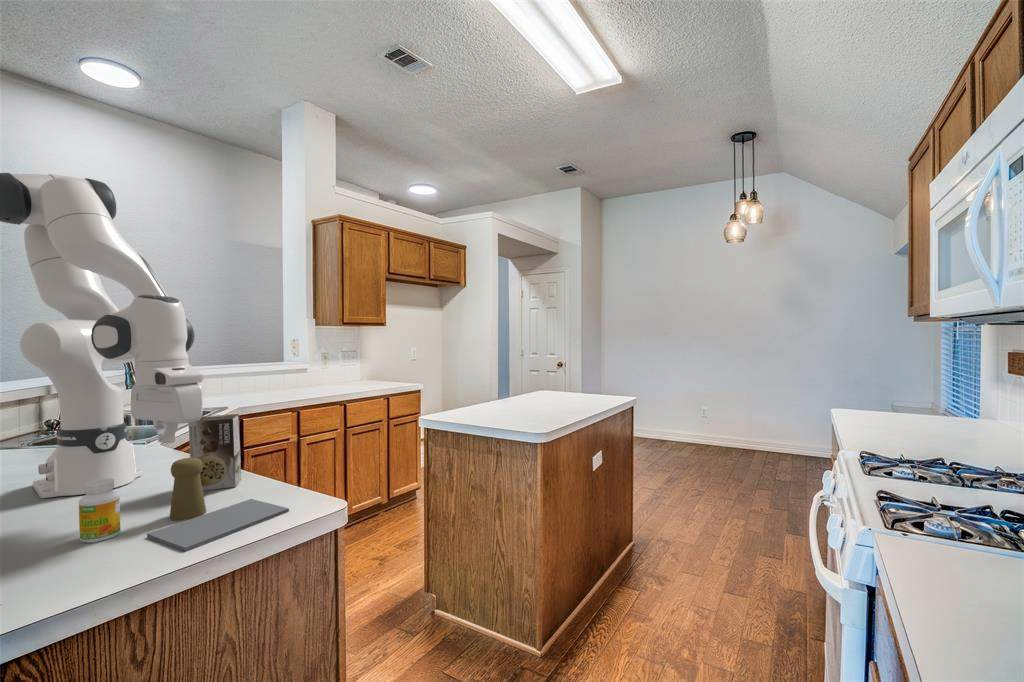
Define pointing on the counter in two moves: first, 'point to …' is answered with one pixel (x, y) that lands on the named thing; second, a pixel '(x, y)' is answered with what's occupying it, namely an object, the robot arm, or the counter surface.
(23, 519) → the counter surface
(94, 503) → the supplement bottle
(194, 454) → the coffee box
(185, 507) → the cork
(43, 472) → the robot arm
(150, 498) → the counter surface
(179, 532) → the rubber mat
